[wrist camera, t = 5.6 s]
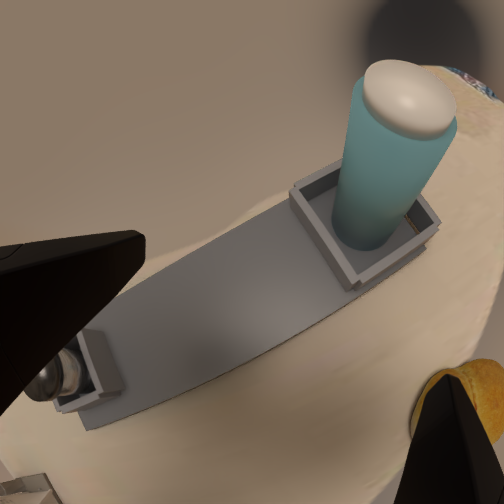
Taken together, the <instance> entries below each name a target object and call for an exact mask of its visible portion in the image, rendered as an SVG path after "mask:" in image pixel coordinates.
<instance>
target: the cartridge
mask: <svg viewBox="0 0 504 504" xmlns="http://www.w3.org/2000/svg"><path fill="white" fill-rule="evenodd" d="M456 109H457V106H456V101H455V98H454V96H453V94H452V92H451V91H450V89H449V88H448V87H447V85H446V84H445V83H444V82H443V81H442V80H441V79H439V78H438V77H437V76H436V75H434V74H433V73H431V72H430V71H428V70H426V69H424V68H422V67H420V66H418V65H415V64H412V63H409V62H406V61H400V60H383V61H379V62H376V63H374V64H372V65H371V66H370V67H369V68H368V69H367V70H366V73H365V76H363V77H361V78H360V79H359V80H358V81H357V82H356V84H355V86H354V89H353V94H352V101H351V108H350V115H349V122H348V128H347V134H346V141H345V147H344V153H343V158H342V164H341V169H340V175H339V180H338V185H337V190H336V195H335V200H334V205H333V210H332V215H331V222H332V227H333V230H334V232H335V234H336V236H337V237H338V238H339V239H340V241H341V242H343V243H344V244H345V245H347V246H348V247H350V248H352V249H355V250H359V251H372V250H375V249H378V248H380V247H381V246H383V245H384V244H385V243H386V242H387V240H388V239H389V238H390V236H391V235H392V233H393V232H394V231H395V229H396V228H397V226H398V225H399V224H400V222H401V221H402V219H403V218H404V216H405V215H406V213H407V212H408V211H409V209H410V208H411V206H412V205H413V203H414V202H415V200H416V199H417V197H418V196H419V194H420V192H421V191H422V189H423V188H424V186H425V185H426V183H427V182H428V180H429V178H430V177H431V175H432V174H433V172H434V170H435V169H436V167H437V166H438V164H439V162H440V161H441V159H442V157H443V156H444V154H445V152H446V150H447V149H448V147H449V145H450V144H451V142H452V140H453V138H454V137H455V134H456V131H457V121H456V117H455V113H456Z"/></svg>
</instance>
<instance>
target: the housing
mask: <svg viewBox="0 0 504 504" xmlns="http://www.w3.org/2000/svg"><path fill="white" fill-rule="evenodd" d="M341 164H342V159H340V160H338V161H336V162H334V163H332V164H330V165H328V166H326V167H324V168H323V169H320V170H318V171H316V172H314V173H312V174H311V175H309V176H307V177H305V178H303V179H301V180H299V181H297V182H295V183H294V188H292V189H290V190H289V198H288V199H286V200H284V201H283V202H281V203H279V204H277V205H275V206H273V207H272V208H270V209H268V210H266V211H264V212H262V213H261V214H259V215H257V216H255V217H253V218H252V219H250V220H248V221H246V222H244V223H243V224H241V225H239V226H237V227H236V228H234V229H232V230H230V231H228V232H227V233H225V234H223V235H221V236H220V237H218V238H216V239H214V240H213V241H211V242H209V243H207V244H206V245H204V246H202V247H200V248H199V249H197V250H195V251H193V252H192V253H190V254H188V255H186V256H185V257H183V258H181V259H180V260H178V261H176V262H174V263H173V264H171V265H169V266H168V267H166V268H164V269H162V270H161V271H159V272H157V273H156V274H154V275H152V276H151V277H149V278H147V279H146V280H144V281H142V282H141V283H139V284H137V285H136V286H134V287H132V288H131V289H129V290H127V291H126V292H124V293H122V294H121V295H119V296H117V297H116V298H114V299H113V300H112V301H111V302H110V303H109V304H108V305H107V306H106V307H105V308H104V309H103V310H101V311H100V312H99V313H98V314H97V315H96V316H95V317H94V318H93V319H92V320H91V321H90V322H89V323H88V324H87V325H86V326H85V327H84V328H83V329H82V330H81V331H80V332H79V333H78V334H77V335H76V336H75V337H74V338H73V339H72V340H71V341H70V342H69V343H68V344H67V345H66V346H65V347H64V348H68V349H77V350H81V351H82V354H83V356H84V359H85V362H86V365H87V368H88V370H89V373H90V376H91V378H92V381H93V383H94V386H95V388H96V391H94V392H92V393H89V394H78V395H66V396H58V397H57V398H56V399H54V400H52V401H53V403H54V406H55V409H56V411H57V412H61V411H62V414H65V413H72V412H78V414H79V416H80V418H81V421H82V423H83V425H84V427H85V429H86V431H89V430H93V429H96V428H98V427H101V426H104V425H107V424H109V423H112V422H115V421H117V420H120V419H123V418H125V417H128V416H130V415H133V414H135V413H138V412H140V411H143V410H145V409H148V408H150V407H152V406H155V405H157V404H160V403H162V402H164V401H167V400H169V399H171V398H173V397H176V396H178V395H180V394H182V393H185V392H187V391H189V390H191V389H193V388H195V387H198V386H200V385H202V384H204V383H206V382H208V381H210V380H212V379H214V378H216V377H218V376H221V375H223V374H225V373H227V372H229V371H231V370H233V369H235V368H236V367H238V366H240V365H242V364H244V363H246V362H248V361H250V360H252V359H254V358H256V357H258V356H259V355H261V354H263V353H265V352H267V351H269V350H271V349H272V348H274V347H276V346H278V345H280V344H281V343H283V342H285V341H287V340H289V339H290V338H292V337H294V336H296V335H297V334H299V333H301V332H302V331H304V330H306V329H308V328H309V327H311V326H313V325H314V324H316V323H318V322H319V321H321V320H323V319H324V318H326V317H328V316H329V315H331V314H332V313H334V312H336V311H337V310H339V309H341V308H342V307H344V306H345V305H347V304H348V303H350V302H352V301H353V300H355V299H356V298H358V297H359V296H361V295H362V294H364V293H365V292H367V291H368V290H370V289H371V288H373V287H374V286H376V285H377V284H379V283H380V282H382V281H383V280H385V279H386V278H388V277H389V276H391V275H392V274H393V273H395V272H396V271H398V270H399V269H401V268H402V267H403V266H405V265H406V264H408V263H409V262H410V261H412V260H413V259H414V258H416V257H417V256H419V255H420V254H421V253H422V252H424V251H425V250H426V247H425V246H424V244H425V243H426V242H427V241H428V240H429V239H430V238H431V237H432V236H433V235H434V234H435V233H436V232H437V231H438V230H439V229H438V226H439V225H440V224H441V223H442V222H441V220H440V219H439V218H438V216H437V215H436V213H435V212H434V211H433V209H432V208H431V207H430V205H429V204H428V203H427V201H426V200H425V199H424V197H423V196H422V195H421V194H419V196H418V197H417V199H416V200H415V202H414V203H413V205H412V206H411V208H410V209H409V211H408V212H407V213H406V214H407V216H408V217H409V218H410V220H411V221H412V222H413V224H414V225H415V227H416V228H417V229H418V231H419V232H420V233H419V234H418V235H417V234H416V233H415V231H414V230H413V228H412V227H411V226H410V224H409V223H408V221H407V220H406V219H405V217H404V218H403V219H402V221H401V222H400V224H399V225H398V226H397V228H396V229H395V231H394V232H393V233H392V235H391V236H390V238H389V239H388V240H387V242H386V243H385V244H384V245H383V246H381V247H380V248H378V249H375V250H372V251H359V250H355V249H352V248H350V247H348V246H347V245H345V244H344V243H343V242H341V241H340V239H339V238H338V237H337V236H336V234H335V232H334V230H333V227H332V222H331V215H332V210H333V205H334V200H335V195H336V190H337V185H338V180H339V175H340V169H341Z"/></svg>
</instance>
